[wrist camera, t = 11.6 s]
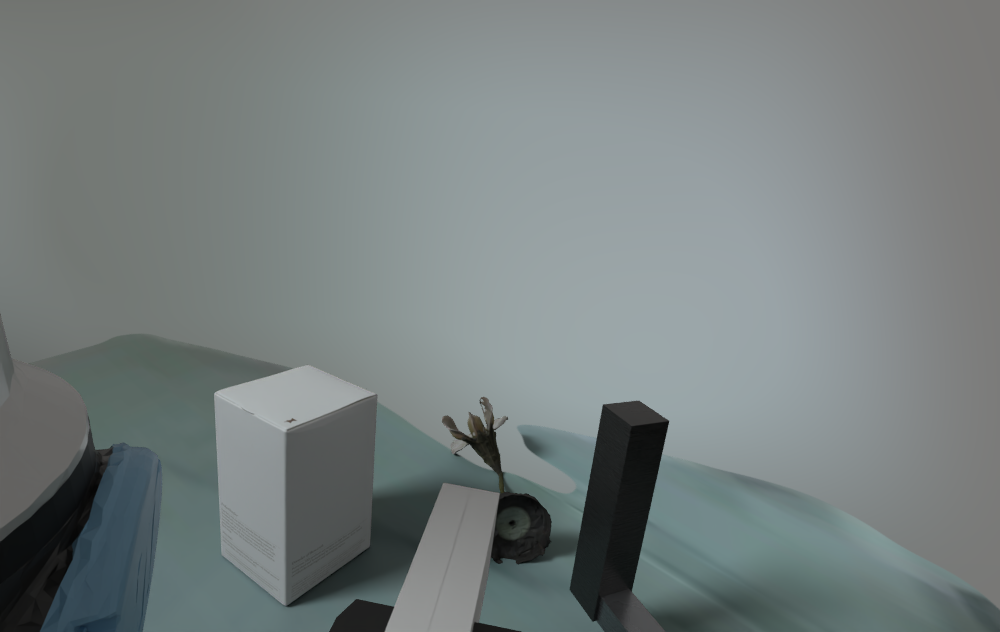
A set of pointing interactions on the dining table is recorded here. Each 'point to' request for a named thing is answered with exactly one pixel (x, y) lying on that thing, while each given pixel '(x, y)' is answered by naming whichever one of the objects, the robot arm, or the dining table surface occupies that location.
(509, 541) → the artificial flower
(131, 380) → the dining table surface
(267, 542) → the supplement box
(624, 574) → the round grey fixture
